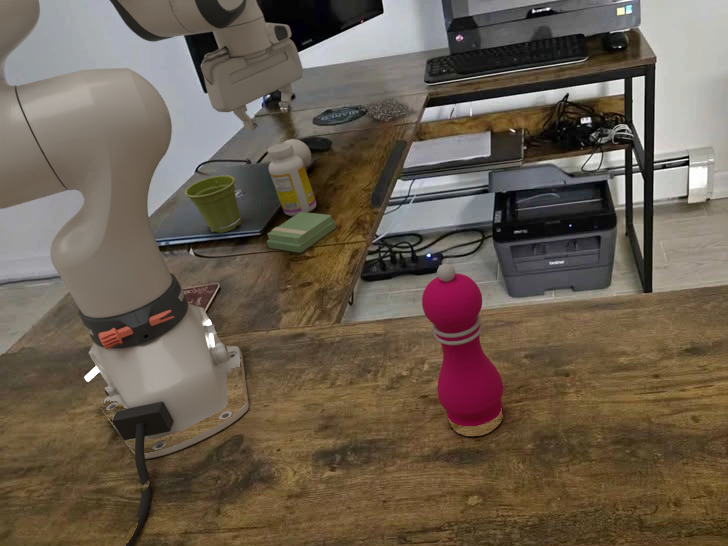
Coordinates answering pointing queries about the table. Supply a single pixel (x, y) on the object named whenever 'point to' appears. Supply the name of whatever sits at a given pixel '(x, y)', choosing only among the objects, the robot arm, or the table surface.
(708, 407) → the table surface
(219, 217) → the plant pot
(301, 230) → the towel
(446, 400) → the pepper mill
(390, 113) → the rug
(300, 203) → the supplement bottle
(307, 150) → the white rounded piece
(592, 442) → the table surface
